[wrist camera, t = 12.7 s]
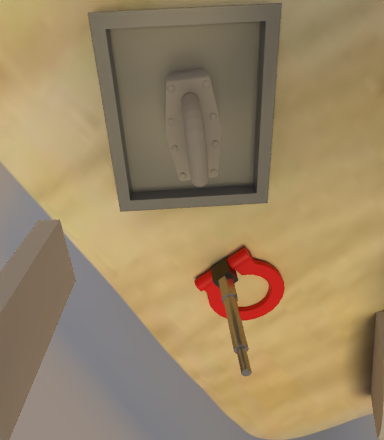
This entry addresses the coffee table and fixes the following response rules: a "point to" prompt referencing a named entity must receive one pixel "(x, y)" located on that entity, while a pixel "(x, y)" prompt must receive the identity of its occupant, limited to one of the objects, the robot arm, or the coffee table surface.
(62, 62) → the coffee table surface
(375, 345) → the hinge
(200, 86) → the padlock
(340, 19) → the coffee table surface
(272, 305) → the tow hook
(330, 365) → the coffee table surface
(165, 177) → the tray
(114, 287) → the coffee table surface
